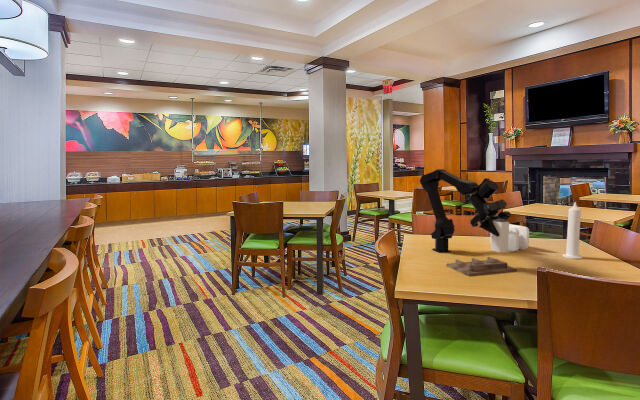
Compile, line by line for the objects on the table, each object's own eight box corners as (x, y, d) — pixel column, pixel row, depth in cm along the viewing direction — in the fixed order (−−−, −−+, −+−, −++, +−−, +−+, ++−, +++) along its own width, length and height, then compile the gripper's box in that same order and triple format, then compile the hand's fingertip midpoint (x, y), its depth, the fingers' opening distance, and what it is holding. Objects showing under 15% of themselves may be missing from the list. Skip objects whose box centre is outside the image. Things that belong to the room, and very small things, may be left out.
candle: (579, 256, 166) (583, 201, 163) (583, 259, 159) (586, 203, 157) (561, 254, 169) (564, 200, 166) (564, 258, 162) (567, 202, 160)
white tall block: (490, 250, 150) (491, 218, 148) (498, 248, 152) (499, 218, 150) (500, 252, 146) (501, 220, 144) (507, 251, 148) (509, 219, 146)
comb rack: (446, 266, 151) (446, 259, 151) (491, 262, 157) (491, 255, 157) (468, 275, 138) (468, 268, 138) (516, 271, 143) (517, 263, 143)
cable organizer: (530, 251, 176) (531, 227, 175) (515, 253, 171) (516, 229, 170) (503, 245, 189) (504, 223, 188) (488, 247, 185) (489, 224, 184)
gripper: (477, 194, 146) (499, 225, 137) (508, 192, 154) (532, 221, 145) (461, 211, 154) (481, 242, 145) (491, 208, 162) (513, 237, 153)
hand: (502, 235), depth 147 cm, fingers closed on white tall block, 4 cm apart
